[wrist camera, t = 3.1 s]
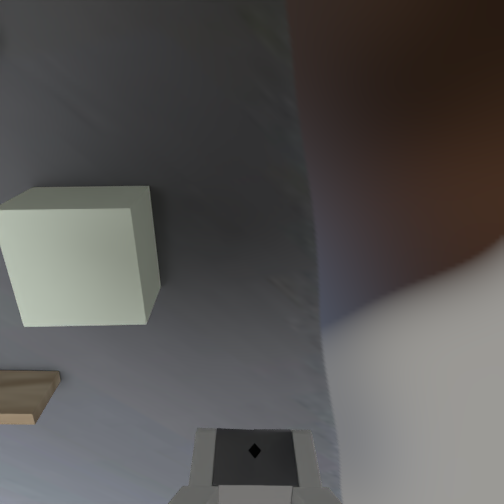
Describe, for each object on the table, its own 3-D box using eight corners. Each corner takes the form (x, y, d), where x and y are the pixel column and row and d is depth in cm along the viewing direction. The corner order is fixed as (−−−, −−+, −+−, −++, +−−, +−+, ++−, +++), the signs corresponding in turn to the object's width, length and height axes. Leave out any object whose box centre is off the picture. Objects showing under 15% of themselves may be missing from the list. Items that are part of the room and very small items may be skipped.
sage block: (34, 186, 21) (-10, 210, 17) (149, 184, 21) (130, 208, 17) (58, 286, 23) (24, 326, 19) (161, 285, 23) (146, 324, 20)
